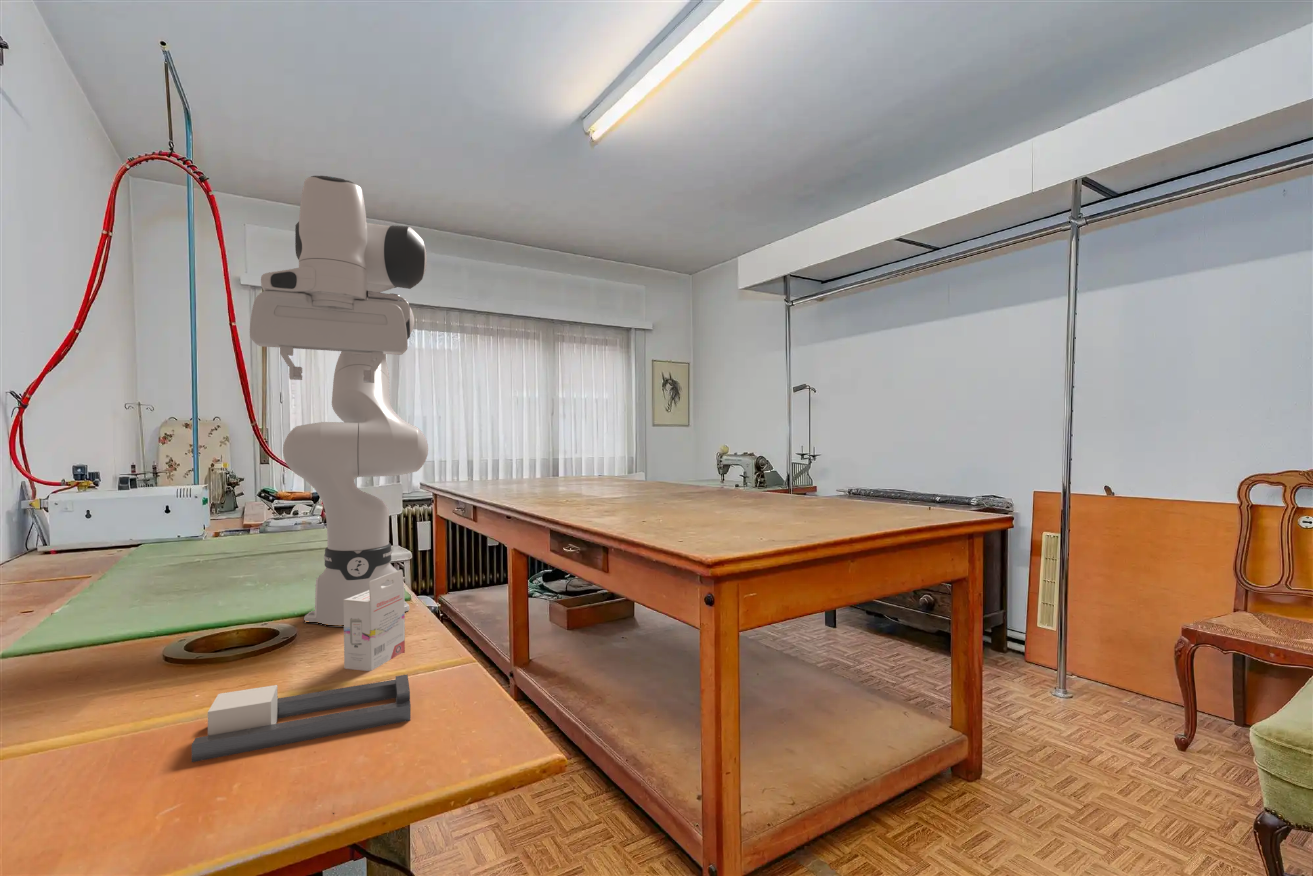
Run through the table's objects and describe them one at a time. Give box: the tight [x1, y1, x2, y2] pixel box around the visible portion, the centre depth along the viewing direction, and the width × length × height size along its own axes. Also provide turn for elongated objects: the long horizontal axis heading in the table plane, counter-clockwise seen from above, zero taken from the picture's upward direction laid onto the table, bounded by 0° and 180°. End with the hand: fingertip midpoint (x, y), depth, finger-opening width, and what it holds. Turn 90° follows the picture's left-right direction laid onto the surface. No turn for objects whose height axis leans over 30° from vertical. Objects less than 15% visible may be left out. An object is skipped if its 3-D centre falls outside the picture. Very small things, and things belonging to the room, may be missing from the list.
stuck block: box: [207, 684, 278, 736], centre depth 69 cm, size 5×6×4 cm
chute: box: [191, 674, 412, 763], centre depth 72 cm, size 9×22×4 cm, turn 116°
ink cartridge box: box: [343, 569, 406, 672], centre depth 92 cm, size 9×5×15 cm, turn 168°
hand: (333, 381), depth 86 cm, fingers open, 8 cm apart
